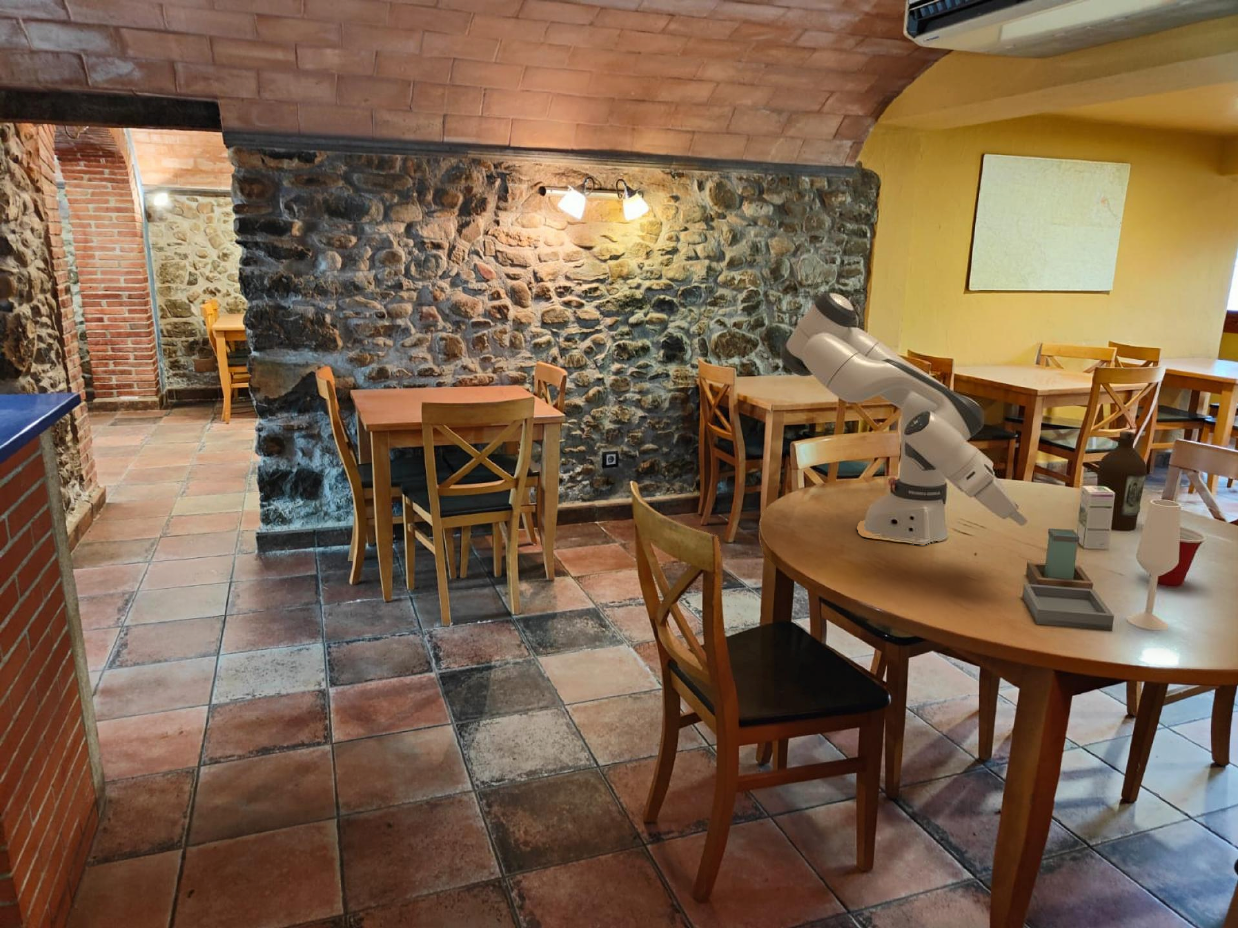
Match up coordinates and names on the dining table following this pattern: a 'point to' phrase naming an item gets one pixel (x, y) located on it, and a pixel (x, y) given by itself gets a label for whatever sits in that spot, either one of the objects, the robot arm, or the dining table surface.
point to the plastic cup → (1183, 557)
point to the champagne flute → (1158, 554)
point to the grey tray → (1067, 607)
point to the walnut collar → (1037, 578)
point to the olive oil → (1123, 481)
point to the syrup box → (1095, 517)
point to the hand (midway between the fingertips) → (1019, 515)
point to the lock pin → (1061, 554)
